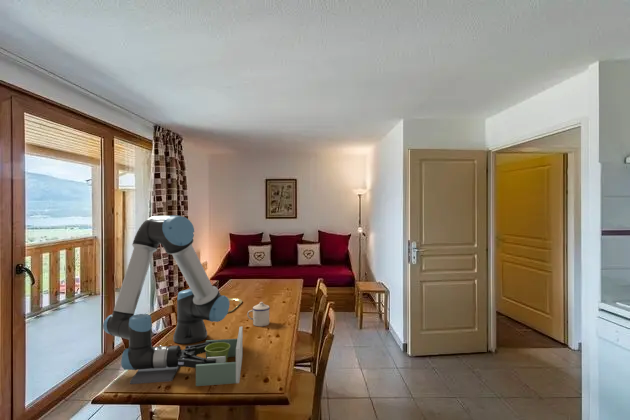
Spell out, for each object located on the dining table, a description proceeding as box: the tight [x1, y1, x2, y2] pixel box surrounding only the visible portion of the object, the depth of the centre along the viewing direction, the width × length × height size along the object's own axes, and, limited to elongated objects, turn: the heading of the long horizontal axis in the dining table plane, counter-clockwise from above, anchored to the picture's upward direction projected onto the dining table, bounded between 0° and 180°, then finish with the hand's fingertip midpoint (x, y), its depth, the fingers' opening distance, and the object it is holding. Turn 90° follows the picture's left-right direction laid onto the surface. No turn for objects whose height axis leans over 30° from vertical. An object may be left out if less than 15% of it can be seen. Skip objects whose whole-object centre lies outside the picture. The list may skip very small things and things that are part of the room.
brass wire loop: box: [227, 297, 243, 314], centre depth 223 cm, size 19×35×2 cm, turn 176°
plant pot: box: [205, 342, 230, 363], centre depth 135 cm, size 9×9×9 cm
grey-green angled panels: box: [195, 326, 244, 387], centre depth 135 cm, size 15×24×12 cm, turn 9°
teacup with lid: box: [247, 301, 271, 327], centre depth 189 cm, size 12×9×12 cm
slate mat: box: [129, 367, 180, 385], centre depth 131 cm, size 14×14×1 cm
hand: (227, 353), depth 135 cm, fingers open, 12 cm apart
